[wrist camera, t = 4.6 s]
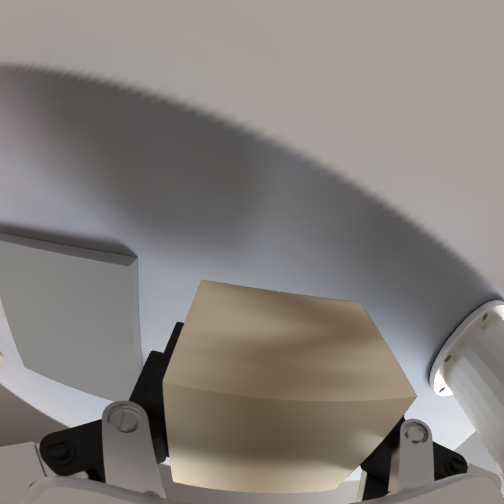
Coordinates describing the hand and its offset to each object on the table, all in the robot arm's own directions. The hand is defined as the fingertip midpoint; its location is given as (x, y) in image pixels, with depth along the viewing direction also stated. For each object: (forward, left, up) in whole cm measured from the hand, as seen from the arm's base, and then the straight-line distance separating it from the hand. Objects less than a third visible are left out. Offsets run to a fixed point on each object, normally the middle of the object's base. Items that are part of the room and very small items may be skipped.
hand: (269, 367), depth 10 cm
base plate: (+15, +7, -8) cm, 18 cm away
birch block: (0, 0, -1) cm, 1 cm away
